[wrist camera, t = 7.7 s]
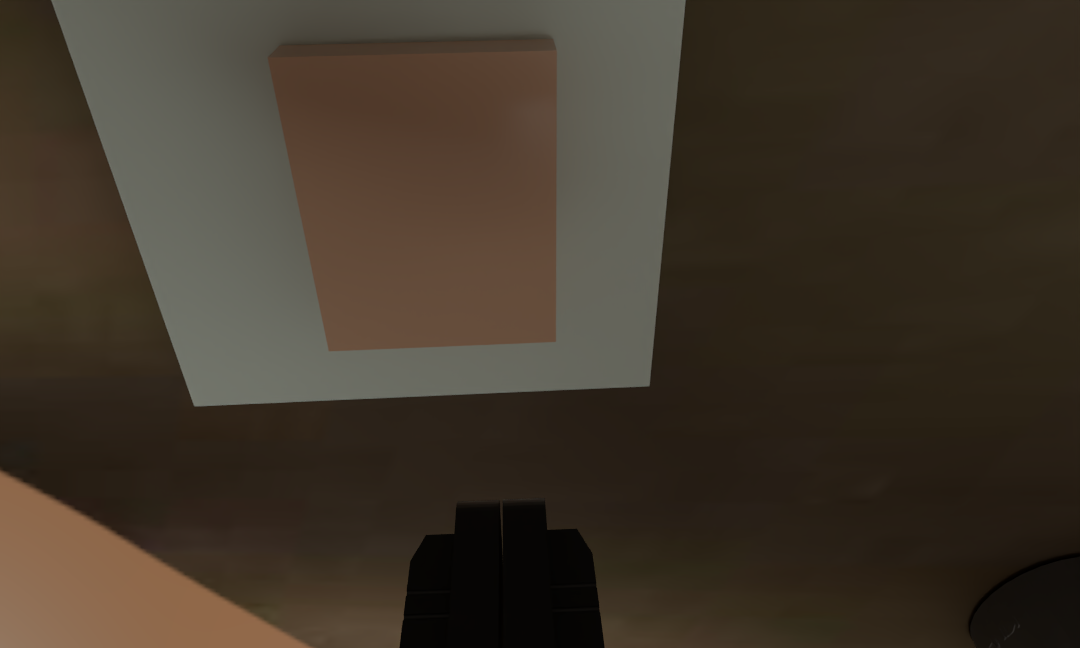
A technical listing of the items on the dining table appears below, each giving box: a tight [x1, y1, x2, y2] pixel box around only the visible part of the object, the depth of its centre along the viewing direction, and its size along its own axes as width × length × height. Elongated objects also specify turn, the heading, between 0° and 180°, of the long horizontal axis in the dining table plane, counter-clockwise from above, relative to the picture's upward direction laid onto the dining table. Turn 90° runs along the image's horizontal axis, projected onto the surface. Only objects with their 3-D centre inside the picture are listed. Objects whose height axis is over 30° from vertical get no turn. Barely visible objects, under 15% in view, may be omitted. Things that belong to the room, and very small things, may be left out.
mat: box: [51, 0, 686, 406], centre depth 25 cm, size 18×17×1 cm
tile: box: [268, 39, 557, 351], centre depth 24 cm, size 2×10×8 cm
